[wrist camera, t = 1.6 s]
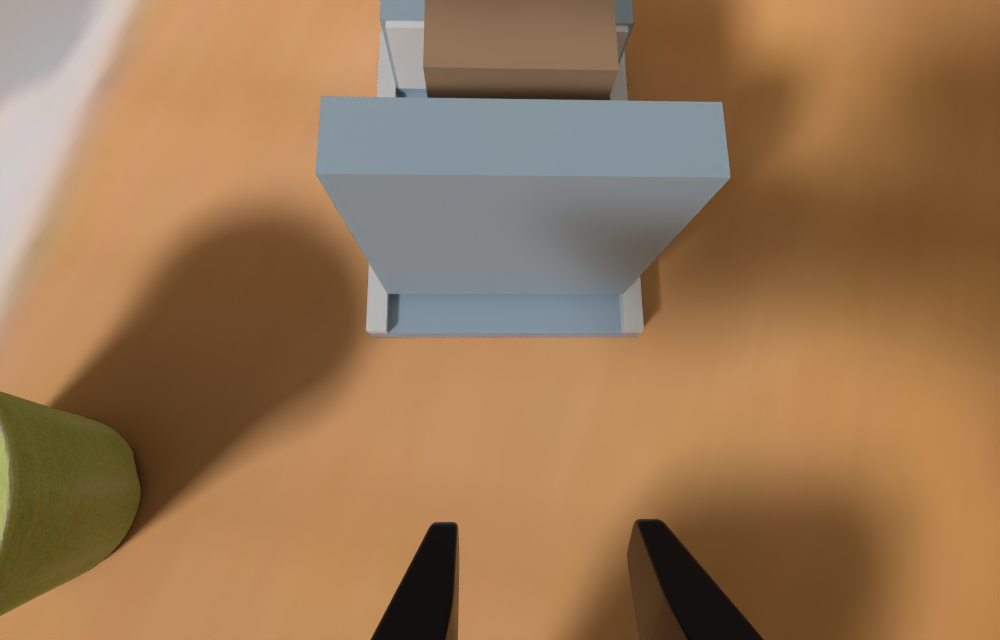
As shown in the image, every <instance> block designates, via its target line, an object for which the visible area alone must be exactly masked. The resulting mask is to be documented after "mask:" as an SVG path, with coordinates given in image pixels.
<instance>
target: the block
mask: <svg viewBox="0 0 1000 640" xmlns="http://www.w3.org/2000/svg"><path fill="white" fill-rule="evenodd" d="M423 70H424V77H425V84H426V91H427V97H428V98H475V99H547V100H608V98H609V96H610V93H611V90H612V88H613V85H614V82H615V79H616V77H617V74H618V71H619V66H618V51H617V35H616V20H615V5H614V0H425V11H424V49H423Z"/></svg>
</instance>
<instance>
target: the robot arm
mask: <svg viewBox="0 0 1000 640" xmlns="http://www.w3.org/2000/svg"><path fill="white" fill-rule="evenodd" d="M627 560H628V569H629V575H630V581H631V588H632V594H633V600H634V607H635V613H636V619H637V625H638V632H639V638H640V640H764V639H763V638H762V637H761V636H760V634H759V633H758V632H757V631H756V630H755V628H754V627H753V626H752V625H751V624H750V623H749V621H748V620H747V619H746V618H745V617H744V616H743V614H742V613H741V612H740V611H739V610H738V609H737V607H736V606H735V605H734V604H733V603H732V602H731V600H730V599H729V598H728V597H727V596H726V595H725V593H724V592H723V591H722V590H721V589H720V588H719V586H718V585H717V584H716V583H715V582H714V580H713V579H712V578H711V577H710V576H709V575H708V573H707V572H706V571H705V570H704V569H703V568H702V566H701V565H700V564H699V563H698V562H697V561H696V559H695V558H694V557H693V556H692V555H691V554H690V552H689V551H688V550H687V549H686V548H685V547H684V545H683V544H682V543H681V542H680V541H679V539H678V538H677V537H676V536H675V535H674V534H673V532H672V531H671V530H670V529H669V528H668V527H667V525H666V524H665V523H664V522H663V521H661V520H659V519H638V520H636V521H635V523H634V525H633V529H632V534H631V538H630V543H629V547H628V554H627ZM458 600H459V536H458V525H457V523H455V522H435V523H433V524H432V525H431V526H430V527H429V529H428V531H427V533H426V535H425V537H424V539H423V541H422V543H421V544H420V546H419V548H418V550H417V552H416V554H415V556H414V558H413V560H412V562H411V564H410V565H409V567H408V569H407V571H406V573H405V575H404V577H403V579H402V581H401V583H400V585H399V586H398V588H397V590H396V592H395V594H394V596H393V598H392V600H391V602H390V604H389V606H388V608H387V609H386V611H385V613H384V615H383V617H382V619H381V621H380V623H379V625H378V627H377V629H376V630H375V632H374V634H373V636H372V638H371V640H458Z"/></svg>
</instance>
